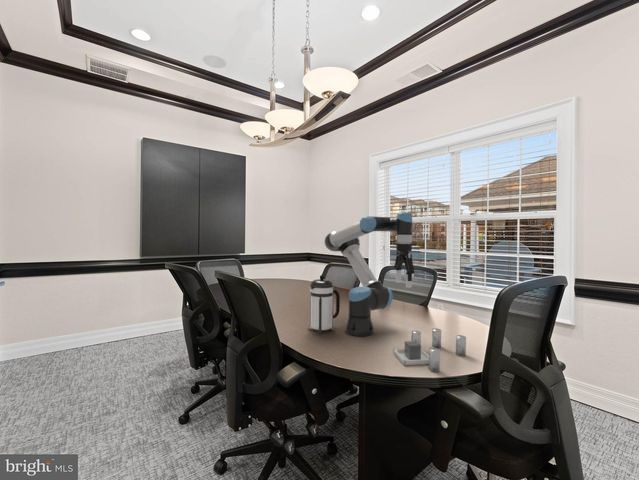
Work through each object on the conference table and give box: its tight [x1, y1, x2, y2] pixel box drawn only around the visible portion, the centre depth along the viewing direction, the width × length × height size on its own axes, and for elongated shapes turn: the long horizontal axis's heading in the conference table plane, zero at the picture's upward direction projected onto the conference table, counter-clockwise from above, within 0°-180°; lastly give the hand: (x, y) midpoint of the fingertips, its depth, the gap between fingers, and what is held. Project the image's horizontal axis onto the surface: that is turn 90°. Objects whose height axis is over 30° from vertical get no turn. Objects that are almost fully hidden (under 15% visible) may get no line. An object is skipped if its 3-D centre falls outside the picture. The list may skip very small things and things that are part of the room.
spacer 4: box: [455, 334, 467, 357], centre depth 135 cm, size 4×4×8 cm
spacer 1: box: [411, 329, 422, 346], centre depth 141 cm, size 4×4×8 cm
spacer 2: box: [431, 327, 442, 349], centre depth 145 cm, size 4×4×8 cm
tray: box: [392, 348, 429, 367], centre depth 131 cm, size 13×13×2 cm
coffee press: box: [307, 274, 341, 335], centre depth 168 cm, size 17×16×30 cm
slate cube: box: [404, 340, 422, 360], centre depth 131 cm, size 5×5×6 cm
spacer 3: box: [428, 347, 441, 373], centre depth 120 cm, size 4×4×8 cm
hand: (403, 285), depth 156 cm, fingers open, 13 cm apart
